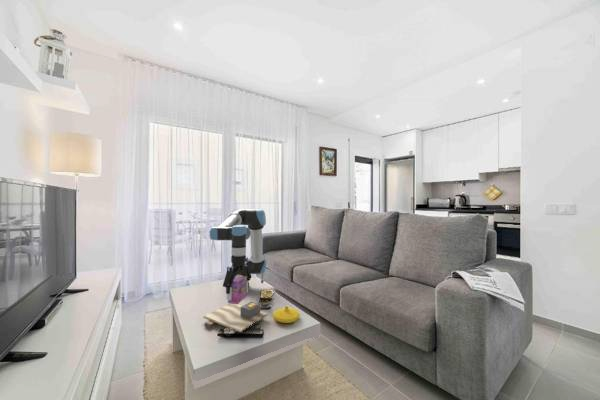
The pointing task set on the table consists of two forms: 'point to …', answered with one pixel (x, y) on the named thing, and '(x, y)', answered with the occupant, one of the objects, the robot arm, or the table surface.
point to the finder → (250, 310)
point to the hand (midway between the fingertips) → (237, 295)
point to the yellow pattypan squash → (286, 315)
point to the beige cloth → (231, 318)
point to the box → (238, 289)
